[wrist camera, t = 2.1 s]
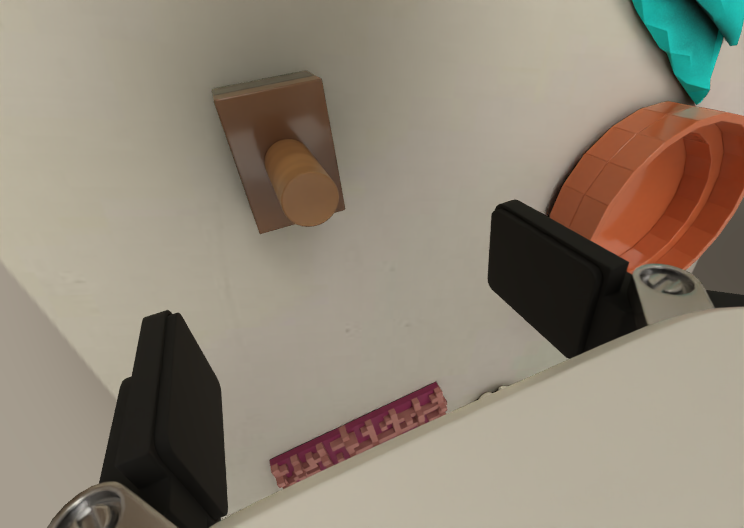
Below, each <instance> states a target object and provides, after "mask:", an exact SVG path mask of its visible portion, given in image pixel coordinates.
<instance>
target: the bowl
mask: <svg viewBox="0 0 744 528" xmlns="http://www.w3.org/2000/svg"><path fill="white" fill-rule="evenodd" d="M743 196H744V116H742V115H738V114H733V113H728V112H723V111H718V110H713V109H707V108H702V107H697V106H692V105H686V104H681V103H676V102H671V101H666V102H662V103H658V104H655V105H651V106H647V107H644V108H641V109H639V110H637V111H636V112H634V113H633V114H631V115H629V116H628V117H626V118H625V119H623V120H622V121H620V122H618V123H617V124H615V125H614V126H612V127H611V128H610V129H609V130H608V131H607V132H606V133H605V134H604V135H603V136H602V137H601V138H600V139H599V140H598V141H597V142H596V143H595V144H594V145H593V146H592V147H591V148H590V149H589V150H588V151H587V152H586V153H585V154H584V155H583V157H582V158H581V160H580V161H579V162H578V164H577V165H576V167H575V168H574V170H573V171H572V172H571V174H570V175H569V177H568V178H567V180H566V181H565V183H564V185H563V186H562V188H561V191H560V193H559V195H558V197H557V200H556V202H555V204H554V207H553V209H552V211H551V213H550V217H549V218H551V219H553V220H554V221H556V222H558V223H560V224H562V225H563V226H565V227H567V228H569V229H571V230H572V231H574V232H576V233H578V234H580V235H581V236H583V237H585V238H587V239H589V240H590V241H592V242H594V243H596V244H598V245H599V246H601V247H603V248H605V249H607V250H608V251H610V252H612V253H614V254H616V255H617V256H619V257H621V258H623V259H625V260H626V261H628V262H629V265H628V268H627V272H629V273H631V274H633V272H634V270H635V269H636V268H637V267H639V266H641V265H646V264H665V265H671V266H675V267H678V268H681V269H683V270H686V269H687V268H689V267H690V266H691V265H692V264H693V263H694V262H695V261H696V260H697V259H698V258H699V257H700V256H701V255H702V254H703V253H704V252H705V250H706V249H707V248H708V247H709V246H710V245H711V244H712V243H713V242H714V240H715V239H716V238H717V237H718V236H719V235H720V233H721V231H722V230H723V229H724V227H725V226H726V225H727V223H728V222H729V220H730V219H731V217H732V216H733V215H734V213H735V211H736V210H737V208H738V206H739V204H740V202H741V200H742V198H743Z"/></svg>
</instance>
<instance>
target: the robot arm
mask: <svg viewBox="0 0 744 528" xmlns="http://www.w3.org/2000/svg"><path fill="white" fill-rule="evenodd" d="M628 265H629V262H628V261H626V260H625V259H623V258H621V257H619V256H617V255H616V254H614V253H612V252H610V251H608V250H607V249H605V248H603V247H601V246H599V245H598V244H596V243H594V242H592V241H590V240H589V239H587V238H585V237H583V236H581V235H580V234H578V233H576V232H574V231H572V230H571V229H569V228H567V227H565V226H563V225H562V224H560V223H558V222H556V221H554V220H553V219H551V218H549V217H547V216H545V215H544V214H542V213H540V212H538V211H536V210H535V209H533V208H531V207H529V206H527V205H526V204H524V203H522V202H520V201H518V200H511V201H508V202H505V203H502V204H499V205H497V206H496V208H495V211H493V213H492V216H491V232H490V249H489V265H488V283H489V286H490V287H491V289H492V290H493V291H494V292H495V293H496V294H497V295H499V296H500V297H501V298H502V299H503V300H504V301H505V302H506V303H507V304H508V305H509V306H511V307H512V308H513V309H514V310H515V311H516V312H517V313H518V314H519V315H520V316H522V317H523V318H524V319H525V320H526V321H527V322H528V323H529V324H530V325H531V326H533V327H534V328H535V329H536V330H537V331H538V332H539V333H540V334H541V335H542V336H543V337H545V338H546V339H547V340H548V341H549V342H550V343H551V344H552V345H553V346H554V347H556V348H557V349H558V350H559V351H560V352H561V353H562V354H563V355H564V356H566V357H567V358H569V360H566V361H564V362H562V363H560V364H557V365H555V366H553V367H551V368H548V369H546V370H544V371H542V372H539V373H537V374H535V375H533V376H530V377H528V378H526V379H524V380H521V381H519V382H517V383H515V384H512V385H510V386H508V387H506V388H503V389H501V390H499V391H497V392H495V393H492V394H490V395H488V396H486V397H483V398H481V399H479V400H477V401H474V402H472V403H470V404H468V405H466V406H463V407H461V408H459V409H457V410H454V411H452V412H450V413H448V414H446V415H443V416H441V417H439V418H437V419H435V420H432V421H430V422H428V423H426V424H423V425H421V426H419V427H417V428H415V429H412V430H410V431H408V432H406V433H404V434H401V435H399V436H397V437H395V438H393V439H390V440H388V441H386V442H384V443H382V444H380V445H377V446H375V447H373V448H371V449H369V450H366V451H364V452H362V453H360V454H358V455H355V456H353V457H351V458H349V459H347V460H344V461H342V462H340V463H338V464H336V465H333V466H331V467H329V468H327V469H325V470H323V471H320V472H318V473H316V474H314V475H312V476H310V477H308V478H306V479H304V480H301V481H299V482H297V483H295V484H293V485H291V486H289V487H287V488H285V489H283V490H280V491H278V492H276V493H274V494H272V495H270V496H268V497H266V498H264V499H261V500H259V501H257V502H255V503H253V504H251V505H249V506H248V507H246V508H244V509H242V510H240V511H238V512H236V513H234V514H232V515H230V516H229V517H227V518H225V519H223V520H221V517H223V516H225V515H227V512H228V501H227V483H226V466H225V449H224V431H223V414H222V397H221V388H220V384H219V381H218V379H217V377H216V375H215V373H214V372H213V370H212V368H211V366H210V365H209V363H208V361H207V359H206V358H205V356H204V354H203V352H202V351H201V349H200V347H199V345H198V344H197V342H196V340H195V338H194V337H193V335H192V333H191V331H190V330H189V328H188V326H187V324H186V323H185V321H184V319H183V317H182V316H181V314H180V313H175V314H172V313H171V312H170V311H169V310H166V311H163V312H160V313H156V314H153V315H150V316H147V317H145V318H143V321H142V326H141V331H140V336H139V341H138V346H137V351H136V357H135V362H134V367H133V372H132V377H129V378H126V379H124V380H123V381H122V384H121V386H120V390H119V395H118V399H117V404H116V408H115V413H114V417H113V422H112V426H111V431H110V436H109V440H108V445H107V450H106V454H105V459H104V463H103V468H102V472H101V477H100V481H99V484H97V485H94V486H91V487H90V488H88V489H86V490H85V491H83V492H81V493H79V494H78V495H77V496H75V497H74V498H73V499H72V500H70V501H69V502H68V503H67V504H66V505H65V506H64V507H63V508H62V509H61V510H60V511H59V512H58V513H57V515H56V516H55V517H54V518H53V519H52V521H51V523H50V524H49V526H48V527H47V528H744V295H739V294H732V293H724V292H717V291H709V290H705V288H704V286H703V285H702V283H701V282H700V281H699V279H698V278H697V277H695V276H694V275H692V274H691V273H690V272H688V271H685V270H683V269H681V268H678V267H675V266H671V265H665V264H646V265H641V266H639V267H637V268H636V269H635V270H634V272H633V274H631V273H629V272H627V268H628Z"/></svg>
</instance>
